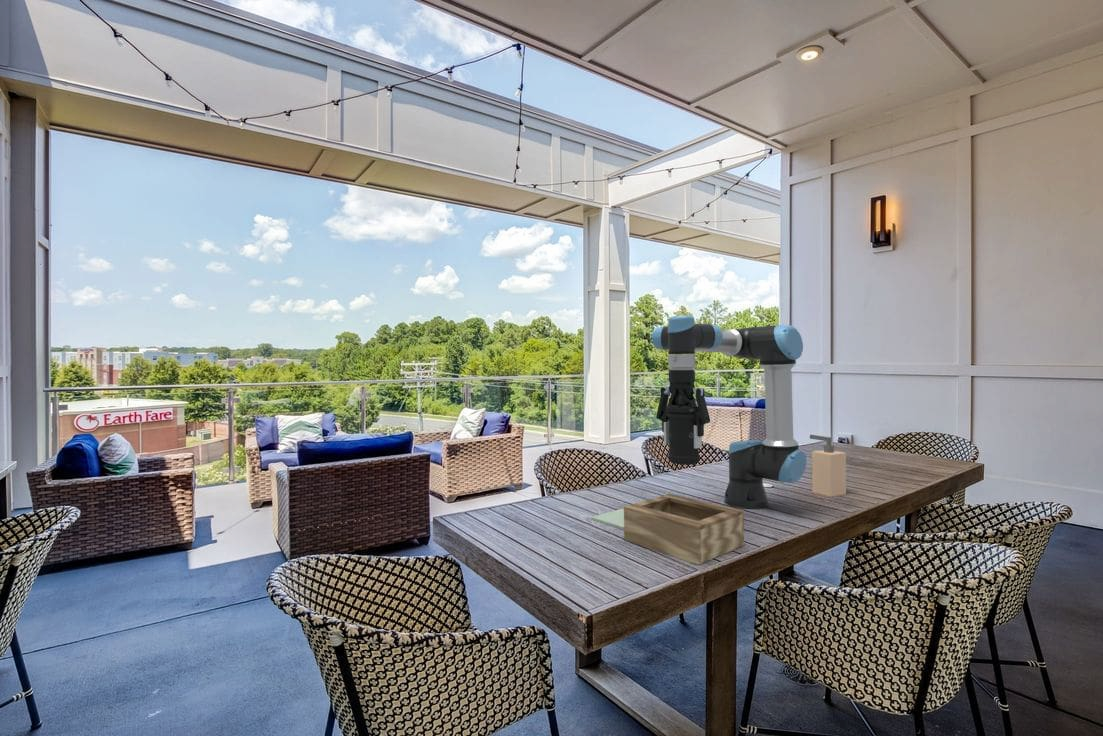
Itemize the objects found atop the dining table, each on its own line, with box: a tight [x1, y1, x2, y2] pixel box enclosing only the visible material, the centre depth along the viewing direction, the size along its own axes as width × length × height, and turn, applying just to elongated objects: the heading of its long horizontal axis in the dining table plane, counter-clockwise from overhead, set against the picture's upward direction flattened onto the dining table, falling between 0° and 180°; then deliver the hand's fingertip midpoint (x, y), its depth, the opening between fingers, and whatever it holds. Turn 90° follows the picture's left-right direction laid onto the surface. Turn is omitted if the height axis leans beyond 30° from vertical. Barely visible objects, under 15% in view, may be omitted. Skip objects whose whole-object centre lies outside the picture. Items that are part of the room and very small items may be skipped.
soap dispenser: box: [809, 434, 847, 498], centre depth 213 cm, size 13×9×22 cm
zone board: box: [591, 507, 624, 531], centre depth 179 cm, size 16×16×1 cm
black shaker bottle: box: [667, 394, 701, 466], centre depth 156 cm, size 9×11×20 cm
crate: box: [623, 493, 745, 565], centre depth 156 cm, size 22×26×10 cm
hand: (682, 445), depth 156 cm, fingers closed on black shaker bottle, 10 cm apart
